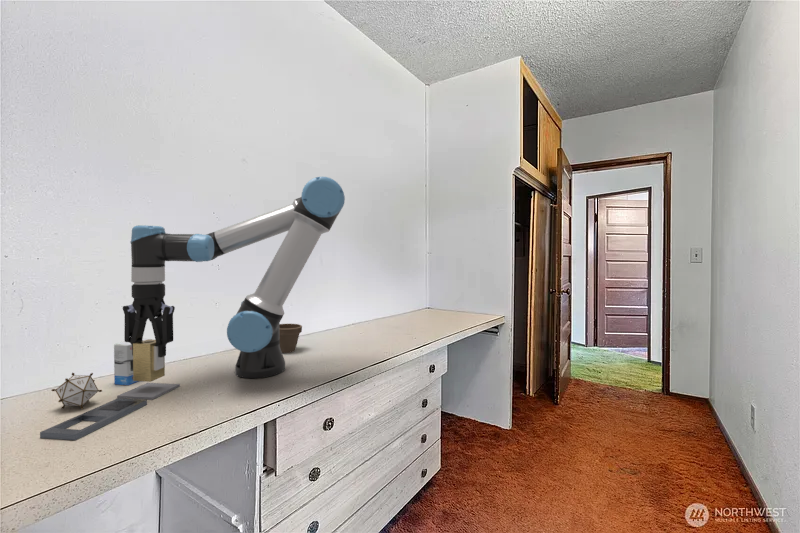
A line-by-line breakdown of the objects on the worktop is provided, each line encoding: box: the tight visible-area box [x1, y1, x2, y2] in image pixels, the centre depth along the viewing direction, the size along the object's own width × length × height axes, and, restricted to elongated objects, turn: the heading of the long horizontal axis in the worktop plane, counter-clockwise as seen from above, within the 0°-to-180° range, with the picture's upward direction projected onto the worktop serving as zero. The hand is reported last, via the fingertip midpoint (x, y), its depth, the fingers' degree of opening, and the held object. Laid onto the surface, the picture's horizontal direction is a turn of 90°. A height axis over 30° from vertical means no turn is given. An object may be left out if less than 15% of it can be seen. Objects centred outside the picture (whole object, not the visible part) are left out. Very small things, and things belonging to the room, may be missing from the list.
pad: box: [116, 382, 181, 401], centre depth 100 cm, size 10×10×1 cm
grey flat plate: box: [39, 397, 148, 441], centre depth 83 cm, size 8×18×1 cm, turn 174°
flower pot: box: [279, 323, 303, 354], centre depth 143 cm, size 12×11×10 cm
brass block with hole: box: [133, 338, 166, 383], centre depth 100 cm, size 5×5×10 cm
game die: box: [50, 372, 103, 410], centre depth 90 cm, size 9×8×10 cm
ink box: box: [113, 337, 153, 386], centre depth 109 cm, size 8×5×12 cm, turn 168°
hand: (149, 368), depth 100 cm, fingers closed on brass block with hole, 5 cm apart
